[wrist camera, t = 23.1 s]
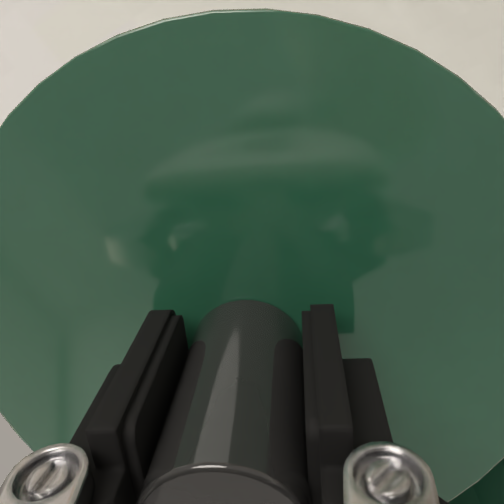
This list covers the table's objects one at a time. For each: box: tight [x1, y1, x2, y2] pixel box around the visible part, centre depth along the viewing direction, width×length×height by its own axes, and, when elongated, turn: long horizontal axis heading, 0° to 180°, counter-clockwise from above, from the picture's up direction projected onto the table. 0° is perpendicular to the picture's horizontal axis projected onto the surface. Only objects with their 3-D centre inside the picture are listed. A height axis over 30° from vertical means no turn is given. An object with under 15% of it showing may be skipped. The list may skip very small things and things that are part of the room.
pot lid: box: [0, 9, 504, 504], centre depth 10 cm, size 15×15×6 cm
